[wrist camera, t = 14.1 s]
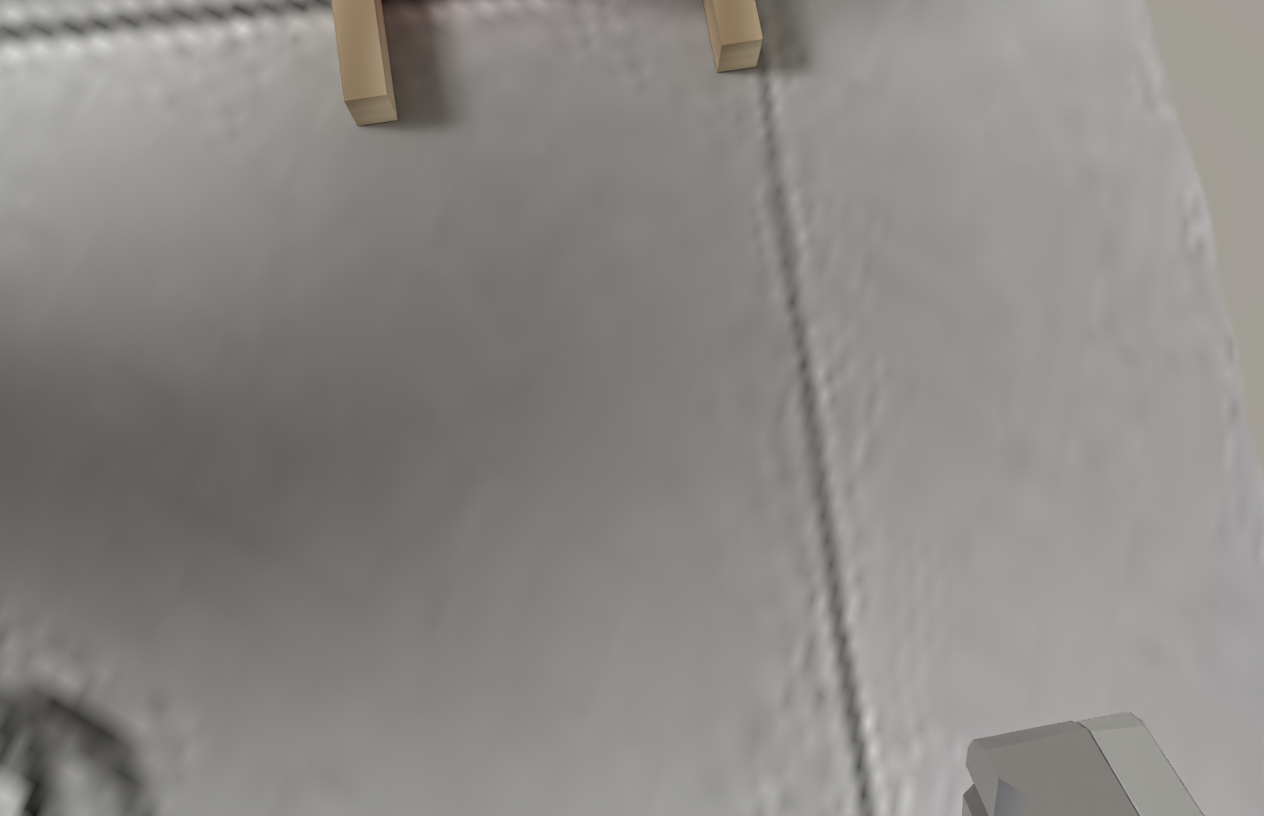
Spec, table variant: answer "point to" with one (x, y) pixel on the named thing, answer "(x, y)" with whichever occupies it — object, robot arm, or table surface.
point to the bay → (371, 70)
